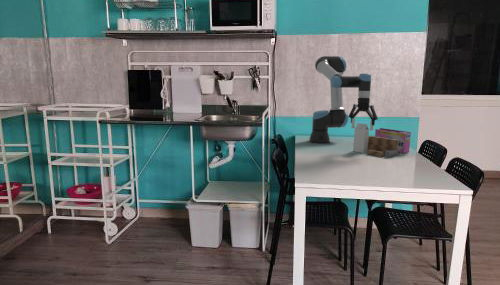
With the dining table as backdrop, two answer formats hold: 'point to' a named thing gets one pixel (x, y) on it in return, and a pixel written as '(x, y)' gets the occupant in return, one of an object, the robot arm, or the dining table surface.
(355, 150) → the milk carton
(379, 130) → the gum box
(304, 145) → the dining table surface
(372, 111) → the robot arm
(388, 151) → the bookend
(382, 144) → the walnut shelf
